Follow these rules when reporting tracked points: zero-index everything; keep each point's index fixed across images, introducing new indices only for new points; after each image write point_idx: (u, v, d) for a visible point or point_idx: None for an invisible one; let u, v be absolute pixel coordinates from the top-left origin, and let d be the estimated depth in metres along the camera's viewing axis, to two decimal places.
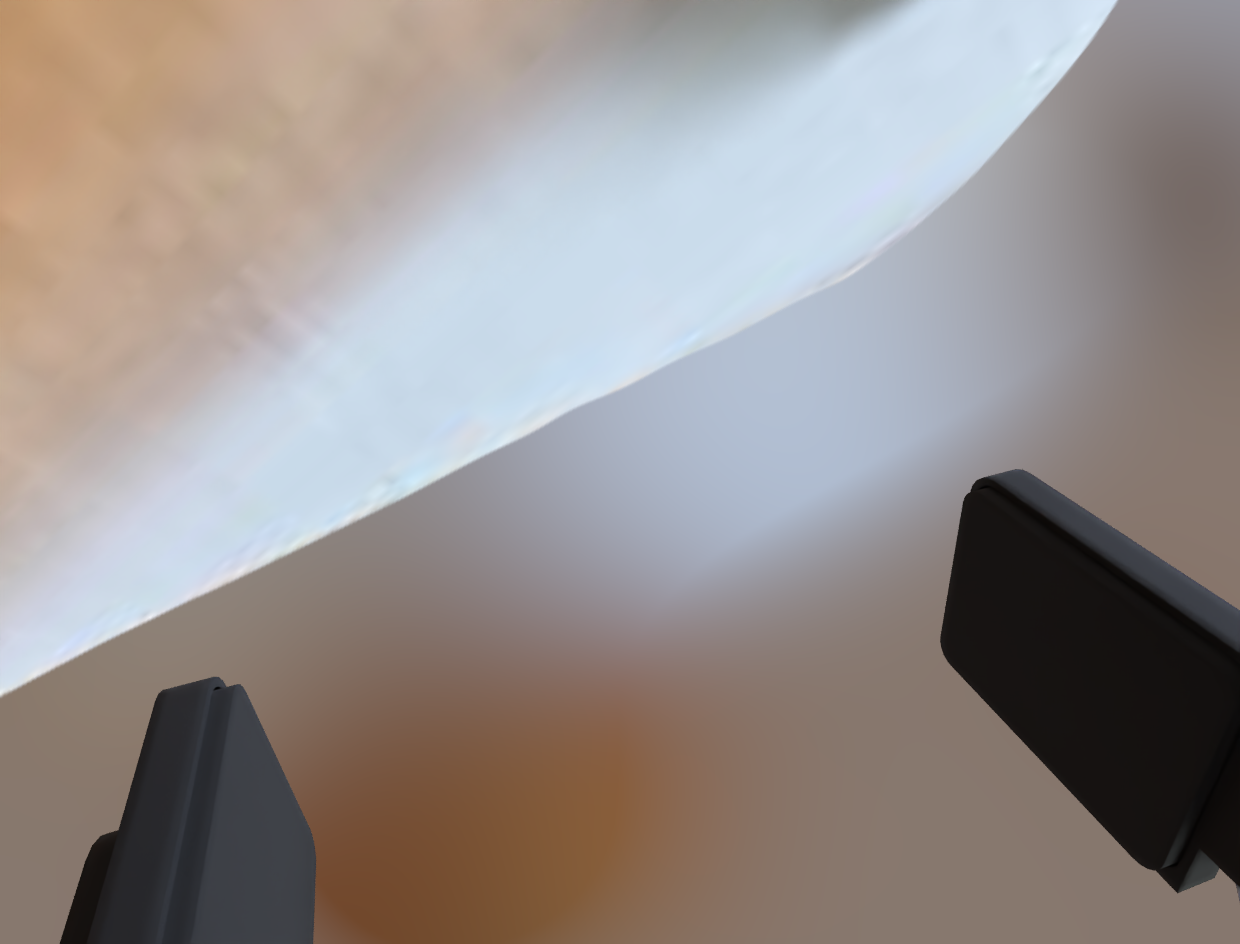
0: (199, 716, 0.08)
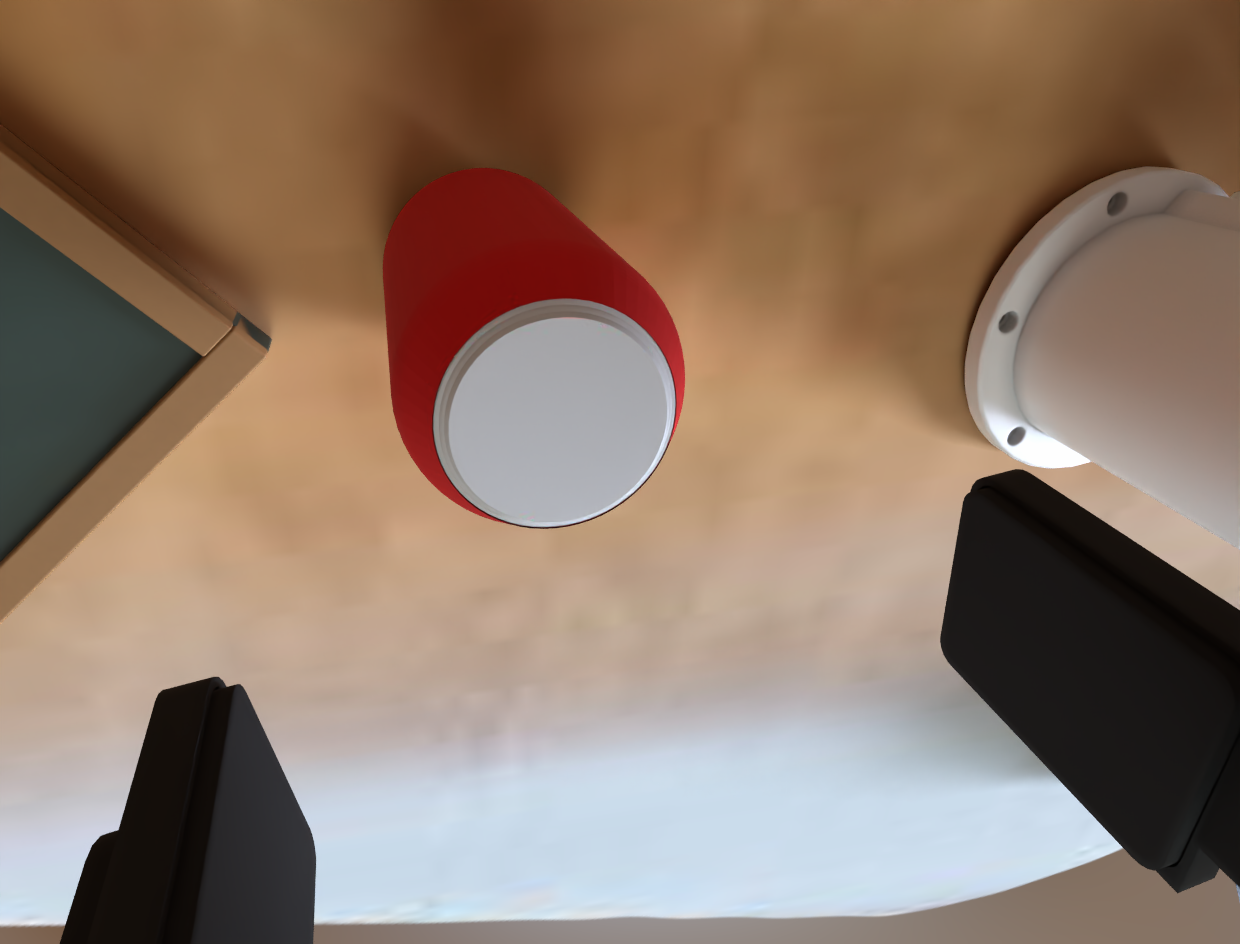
0: (199, 716, 0.08)
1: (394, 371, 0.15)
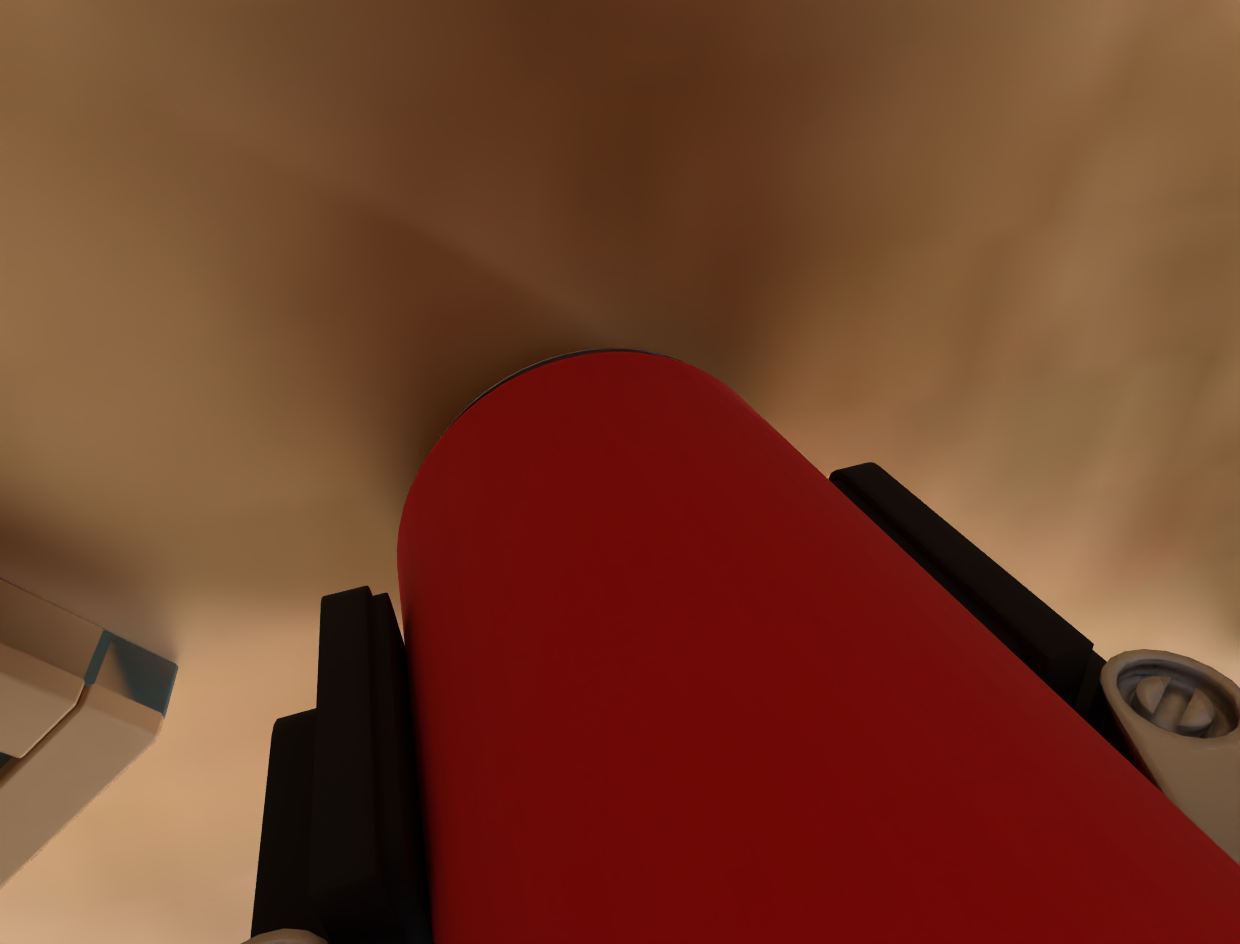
0: (362, 615, 0.09)
1: None
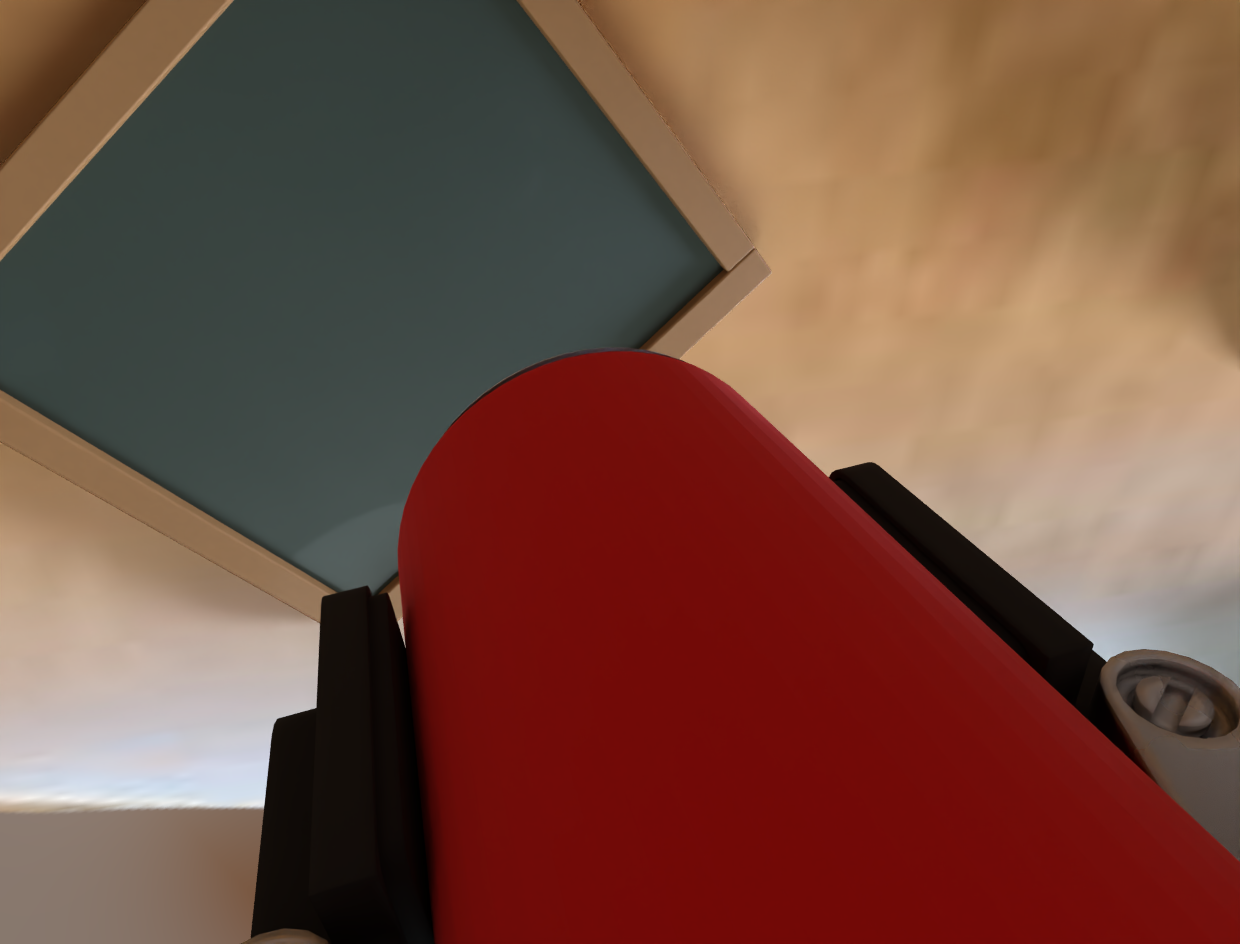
0: (363, 614, 0.09)
1: None
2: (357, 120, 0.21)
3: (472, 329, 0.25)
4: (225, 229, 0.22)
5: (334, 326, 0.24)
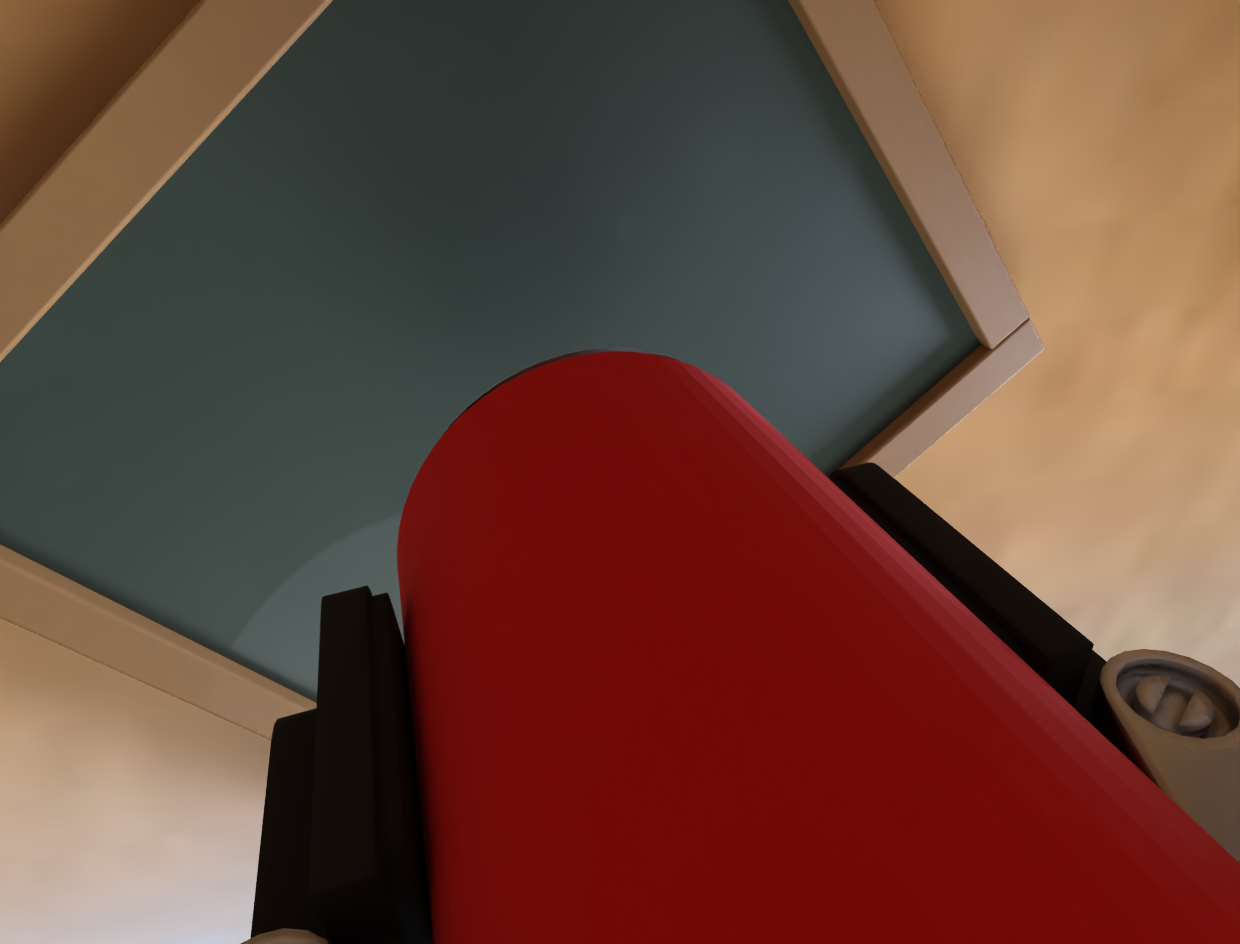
0: (363, 614, 0.09)
1: None
2: (530, 149, 0.14)
3: None
4: (330, 310, 0.15)
5: None
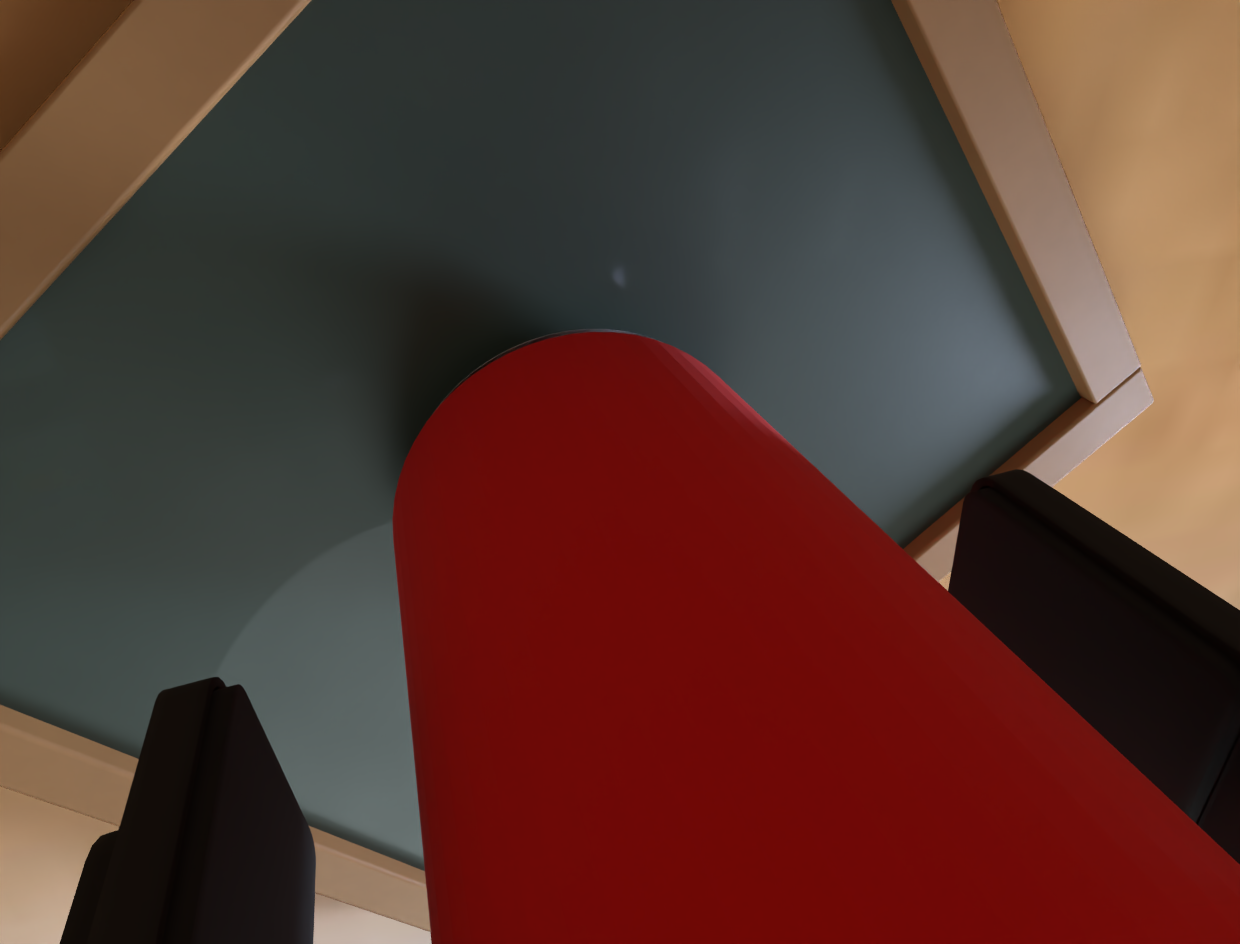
0: (200, 716, 0.08)
1: None
2: (567, 180, 0.11)
3: None
4: (318, 379, 0.12)
5: None
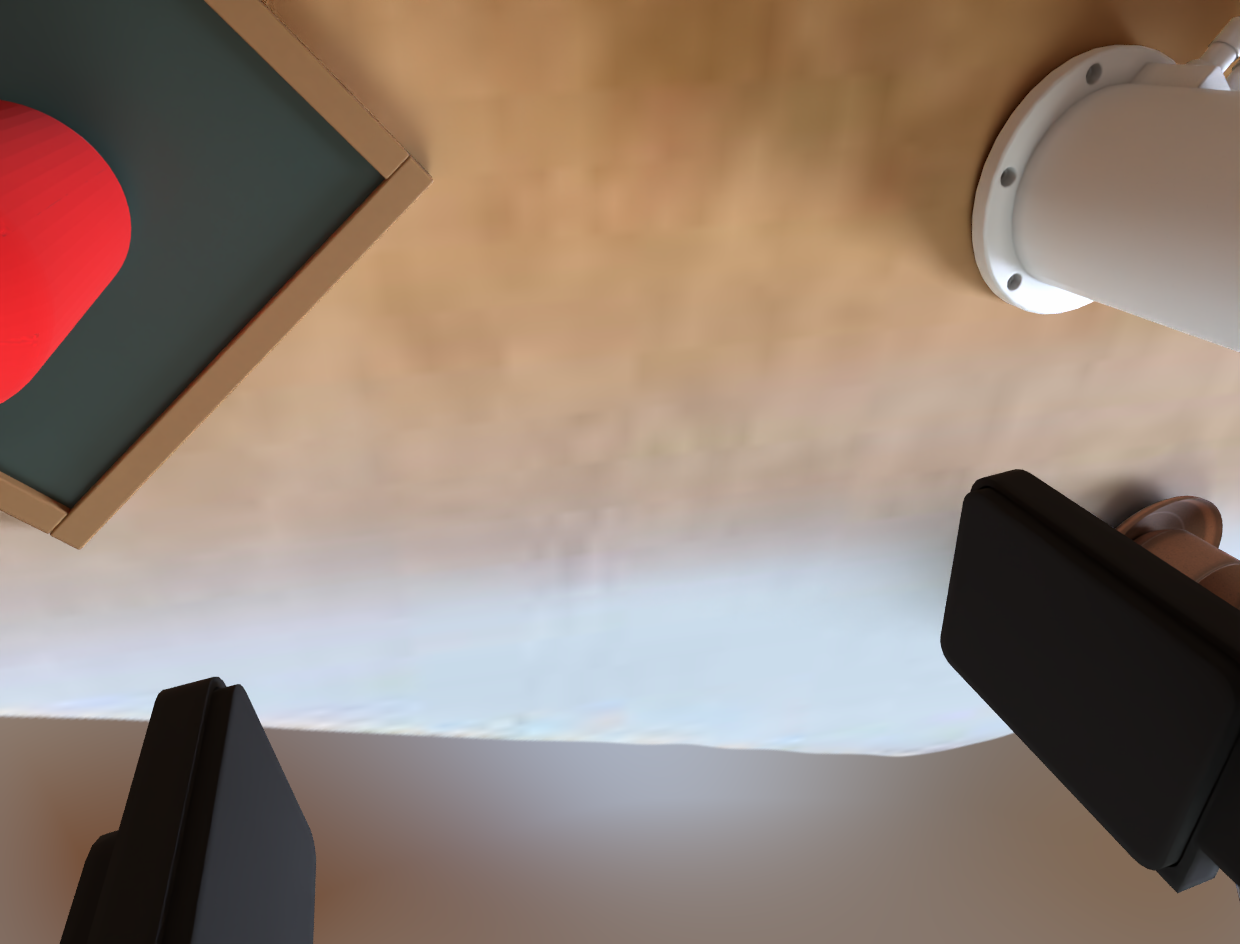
0: (199, 716, 0.08)
1: None
2: None
3: (131, 231, 0.27)
4: None
5: None
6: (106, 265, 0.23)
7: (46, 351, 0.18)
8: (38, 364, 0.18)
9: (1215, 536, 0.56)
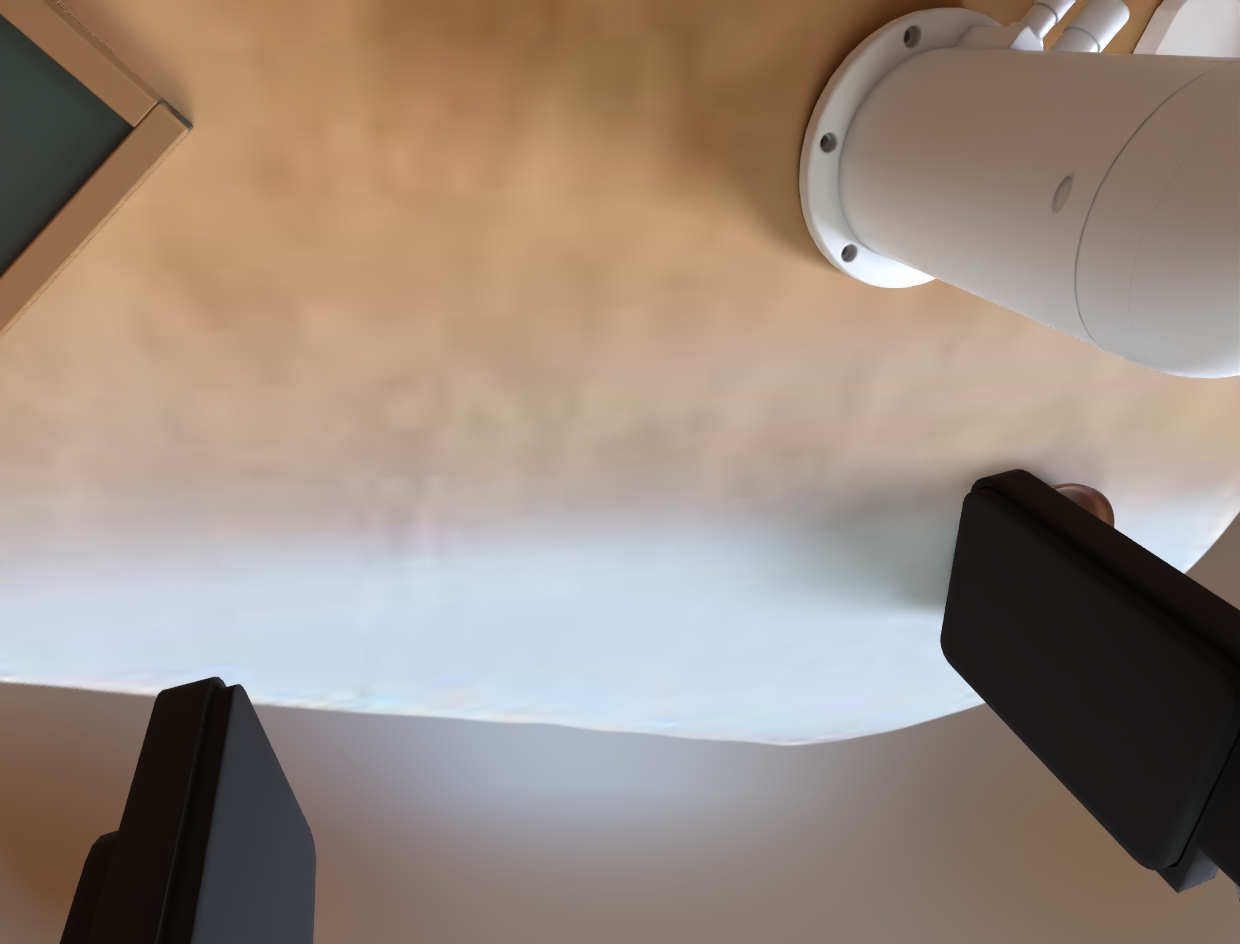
0: (199, 716, 0.08)
1: None
2: None
3: None
4: None
5: None
6: None
7: None
8: None
9: None
